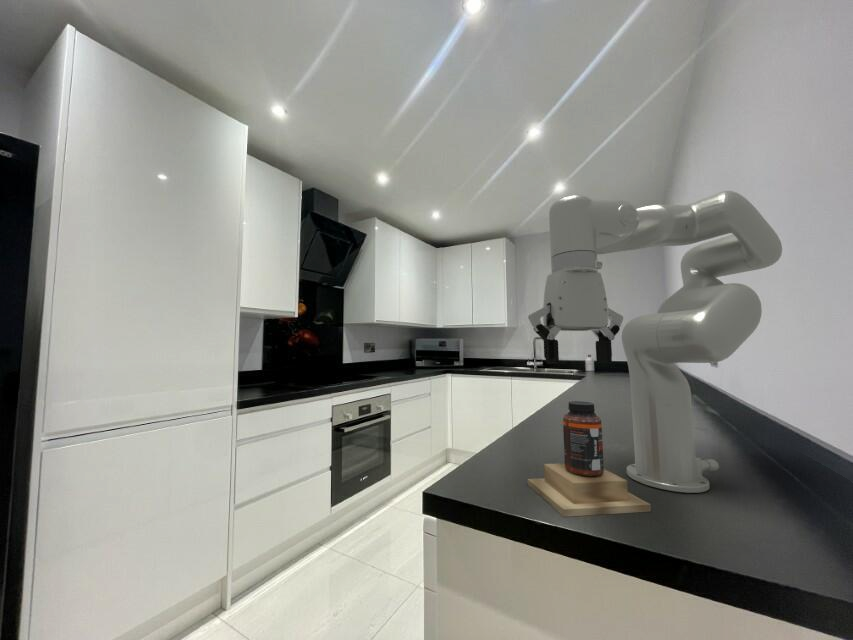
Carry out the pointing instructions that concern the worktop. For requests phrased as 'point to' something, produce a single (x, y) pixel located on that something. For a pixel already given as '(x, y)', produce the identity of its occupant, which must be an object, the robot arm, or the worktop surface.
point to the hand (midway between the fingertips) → (578, 363)
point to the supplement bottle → (583, 440)
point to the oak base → (586, 507)
